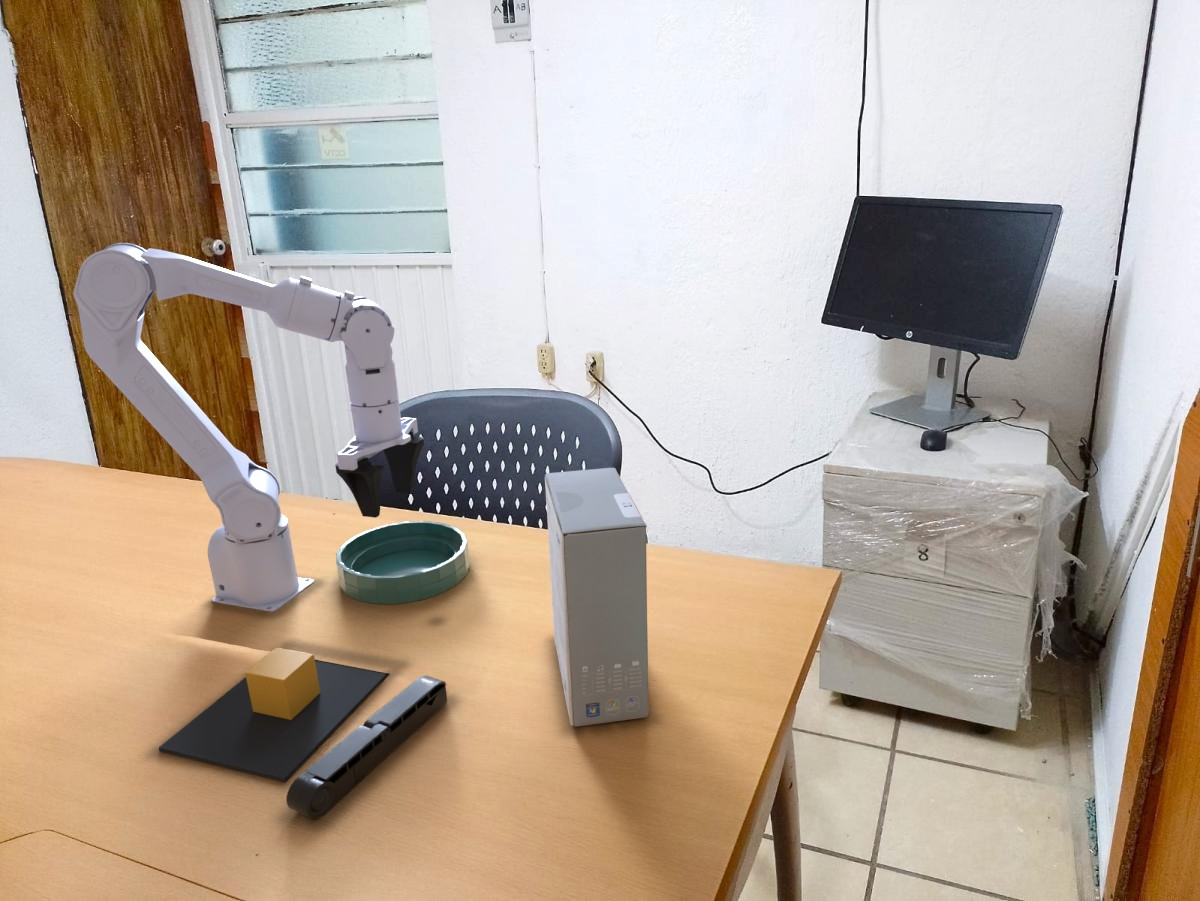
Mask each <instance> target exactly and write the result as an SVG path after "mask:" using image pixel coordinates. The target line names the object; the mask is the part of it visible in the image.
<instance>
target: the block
mask: <svg viewBox="0 0 1200 901" xmlns="http://www.w3.org/2000/svg"><path fill="white" fill-rule="evenodd" d="M315 660H316V659H315V654H314V653H309V652H304V651H298V650H294V649H293V650H292V649H287V648H282V647H275V648H274V649H273V650H271V651H270V652H269V653H267V654H266V655H265V656H264V657H262V658H261V659H260V660H259V661H258V662H256V663H255V664H254V665H252V667H250V668H249V669H247V670H246V671H245V673H244V675H245V677H246V679H247V684H248V689H249V694H250V699H251V703H252V708H253V712H257V713H261V714H266V715H271V716H275V717H280V718H284V719H289V720H292V719H293V718H294V717H295V716H296V715H297V714H298V713H299V712H300V711H301V710H302V709H303V708H305V707H306V706H307V705H308V704H309V703H310V702H311V701H312V700H313V699H314V698H315V697H316V696H317V695H318V694H319V693H320V687H319V682H318V676H317V670H316V664H315Z"/></svg>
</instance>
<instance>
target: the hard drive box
mask: <svg viewBox="0 0 1200 901" xmlns="http://www.w3.org/2000/svg"><path fill="white" fill-rule="evenodd" d="M544 484H545V501H546V516H547V518H546V519H547V537H548V553H549V554H548V555H549V573H550V574H549V575H550V591H551V607H552V625H553V638H554V646H555V649H556V654H557V655H556V656H557V661H558V666H559V671H560V677H561V683H562V686H563V687H562V689H563V692H564V699H565V703H566V705H565V706H566V709H567V714H568V719H569V724H570V726H571V727H572V726H573V727H575V728H577V727H583V726H591V725H598V724H605V723H612V722H620V721H628V720H635V719H636V720H637V719H643V718H647V717H649V647H648V646H649V645H648V644H649V643H648V642H649V641H648V639H649V638H648V636H649V635H648V586H647V585H648V583H647V578H648V577H647V576H648V575H647V574H648V573H647V572H648V570H647V568H648V567H647V526H648V525H647V524H646V522H645V520H644V518H643V516H642V514H641V512H640V510H639V509H638V507H637V505H636V503H635V501H634V500H633V498H632V497H631V496H632V495H631V494H630V493H629V492H628V490H627V488H626V486H625V483H624V481H623V480H622V478H621V476H620V474H619V473H618V471H617V469H616V468H615V467H604V468H592V469H591V468H590V469H580V470H571V471H570V470H569V471H568V470H567V471H558V472H557V471H556V472H547V473H545V475H544Z"/></svg>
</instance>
